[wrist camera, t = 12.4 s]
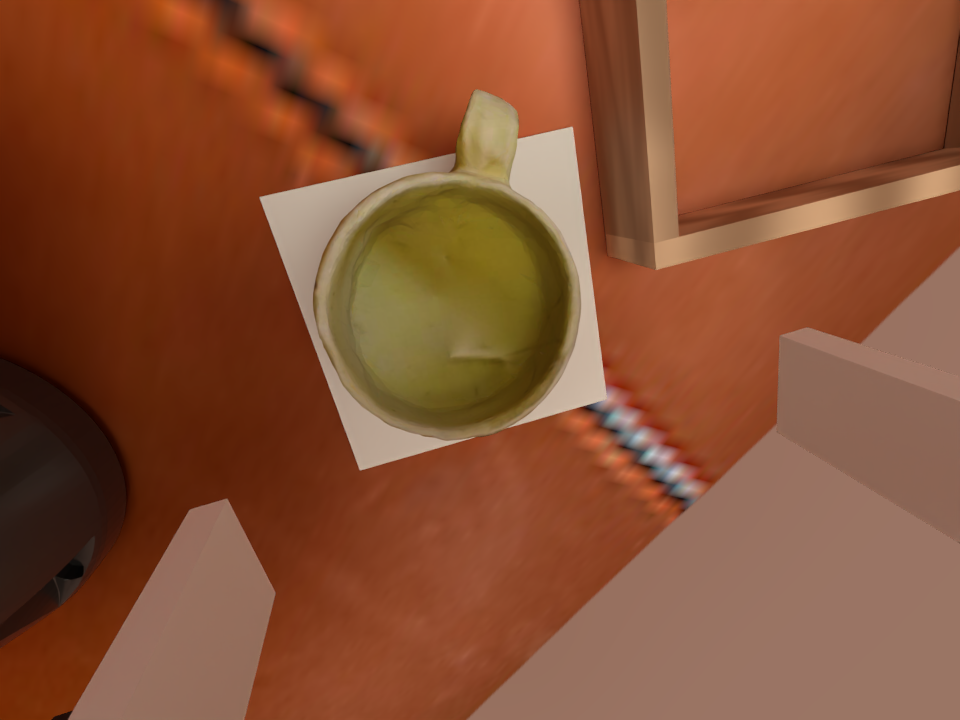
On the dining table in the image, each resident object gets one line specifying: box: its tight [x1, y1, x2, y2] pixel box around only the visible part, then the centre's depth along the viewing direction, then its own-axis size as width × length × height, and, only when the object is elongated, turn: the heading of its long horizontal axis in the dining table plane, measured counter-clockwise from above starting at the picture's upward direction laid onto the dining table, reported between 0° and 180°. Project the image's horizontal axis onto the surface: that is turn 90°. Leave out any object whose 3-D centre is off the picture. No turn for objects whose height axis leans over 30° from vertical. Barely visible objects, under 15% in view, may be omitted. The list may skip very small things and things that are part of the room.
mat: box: [259, 127, 607, 470], centre depth 25 cm, size 15×15×1 cm
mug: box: [313, 89, 581, 441], centre depth 20 cm, size 12×10×10 cm
